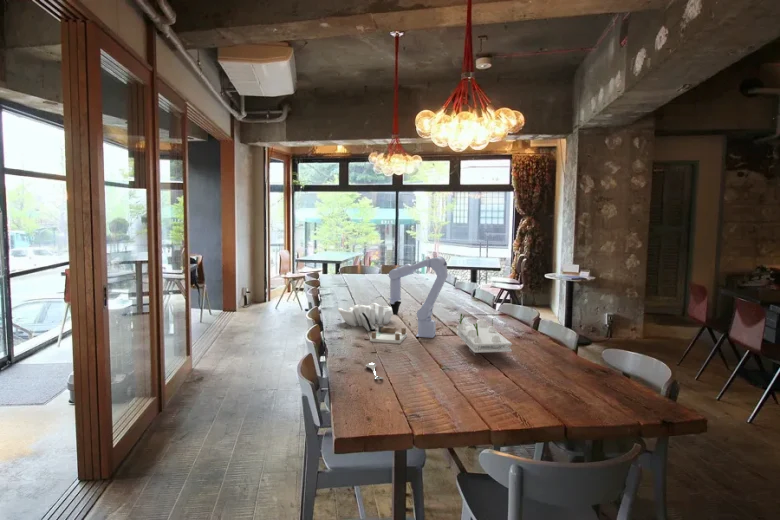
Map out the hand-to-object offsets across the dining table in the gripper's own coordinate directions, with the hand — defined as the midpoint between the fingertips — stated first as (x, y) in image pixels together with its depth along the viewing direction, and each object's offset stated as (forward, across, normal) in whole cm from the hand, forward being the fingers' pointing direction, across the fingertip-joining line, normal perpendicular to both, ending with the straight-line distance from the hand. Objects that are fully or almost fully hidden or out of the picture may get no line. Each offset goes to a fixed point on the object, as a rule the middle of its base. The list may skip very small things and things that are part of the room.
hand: (395, 314), depth 261 cm
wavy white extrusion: (+11, -21, -24) cm, 34 cm away
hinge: (+10, -7, -19) cm, 23 cm away
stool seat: (+10, +13, 0) cm, 16 cm away
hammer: (+9, +6, -3) cm, 11 cm away
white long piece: (+11, +69, +10) cm, 70 cm away
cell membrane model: (+11, +24, +48) cm, 54 cm away
